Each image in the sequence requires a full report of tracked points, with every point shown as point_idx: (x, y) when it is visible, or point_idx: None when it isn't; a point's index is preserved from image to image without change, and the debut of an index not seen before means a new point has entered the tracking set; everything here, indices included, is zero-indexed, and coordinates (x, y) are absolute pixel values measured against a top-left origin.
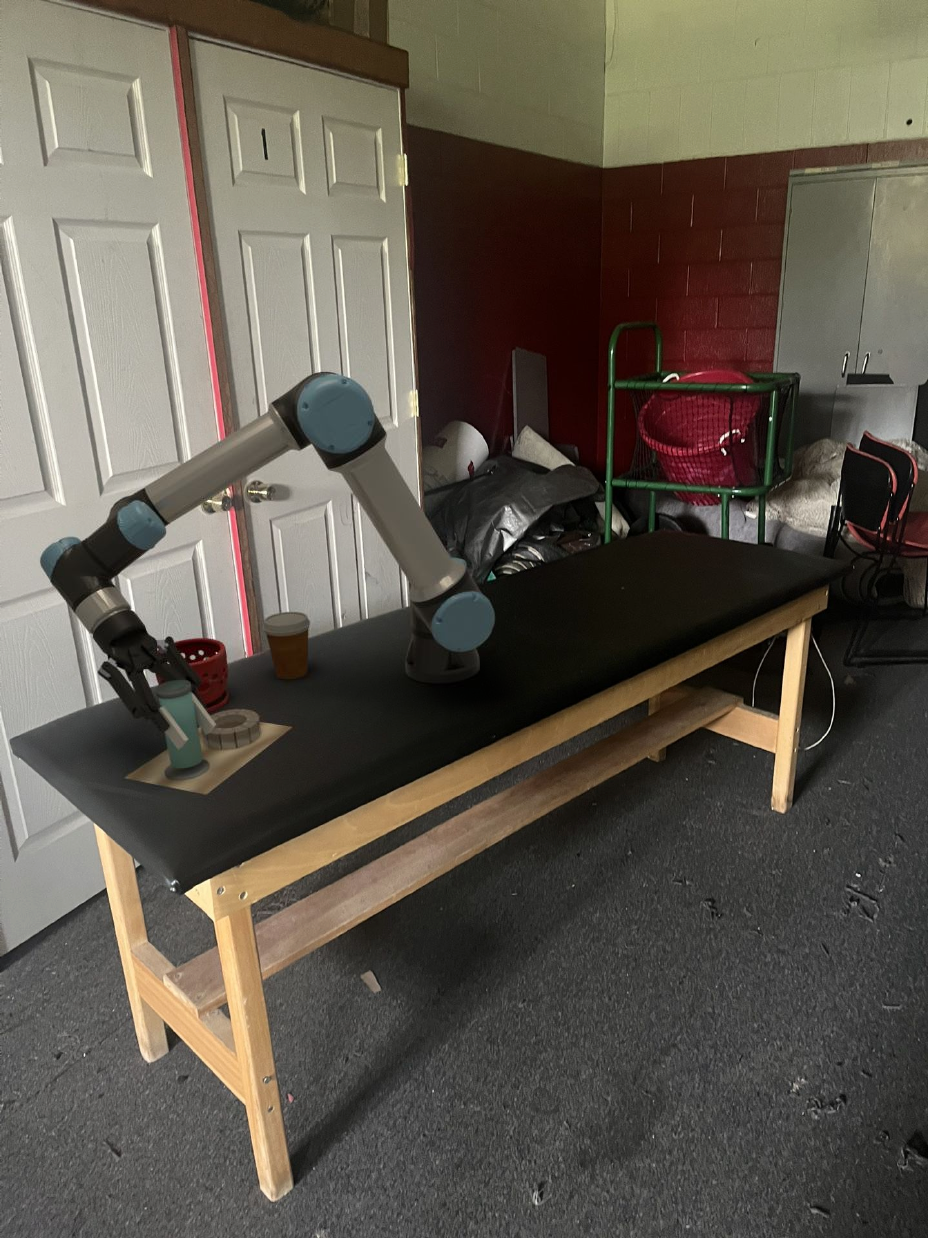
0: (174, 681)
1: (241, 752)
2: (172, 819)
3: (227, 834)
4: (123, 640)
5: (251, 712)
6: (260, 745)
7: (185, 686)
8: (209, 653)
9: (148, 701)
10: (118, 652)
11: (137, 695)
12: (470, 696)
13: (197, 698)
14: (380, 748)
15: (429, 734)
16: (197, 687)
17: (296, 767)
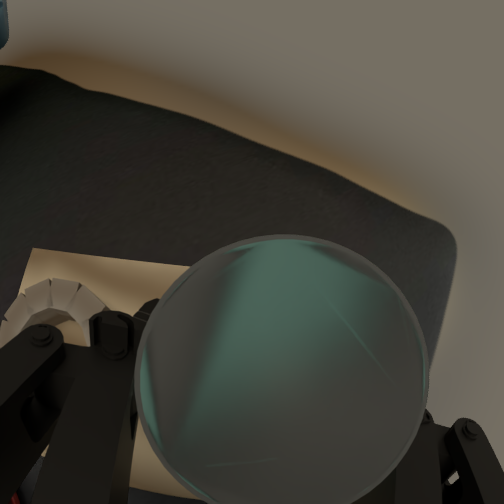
0: (183, 441)
1: (138, 301)
2: None
3: (385, 203)
4: None
5: (9, 316)
6: (102, 274)
7: (275, 261)
8: None
9: (434, 448)
10: None
11: (482, 489)
12: (4, 106)
13: (140, 331)
14: (107, 118)
15: (78, 95)
16: (108, 311)
17: (167, 188)
